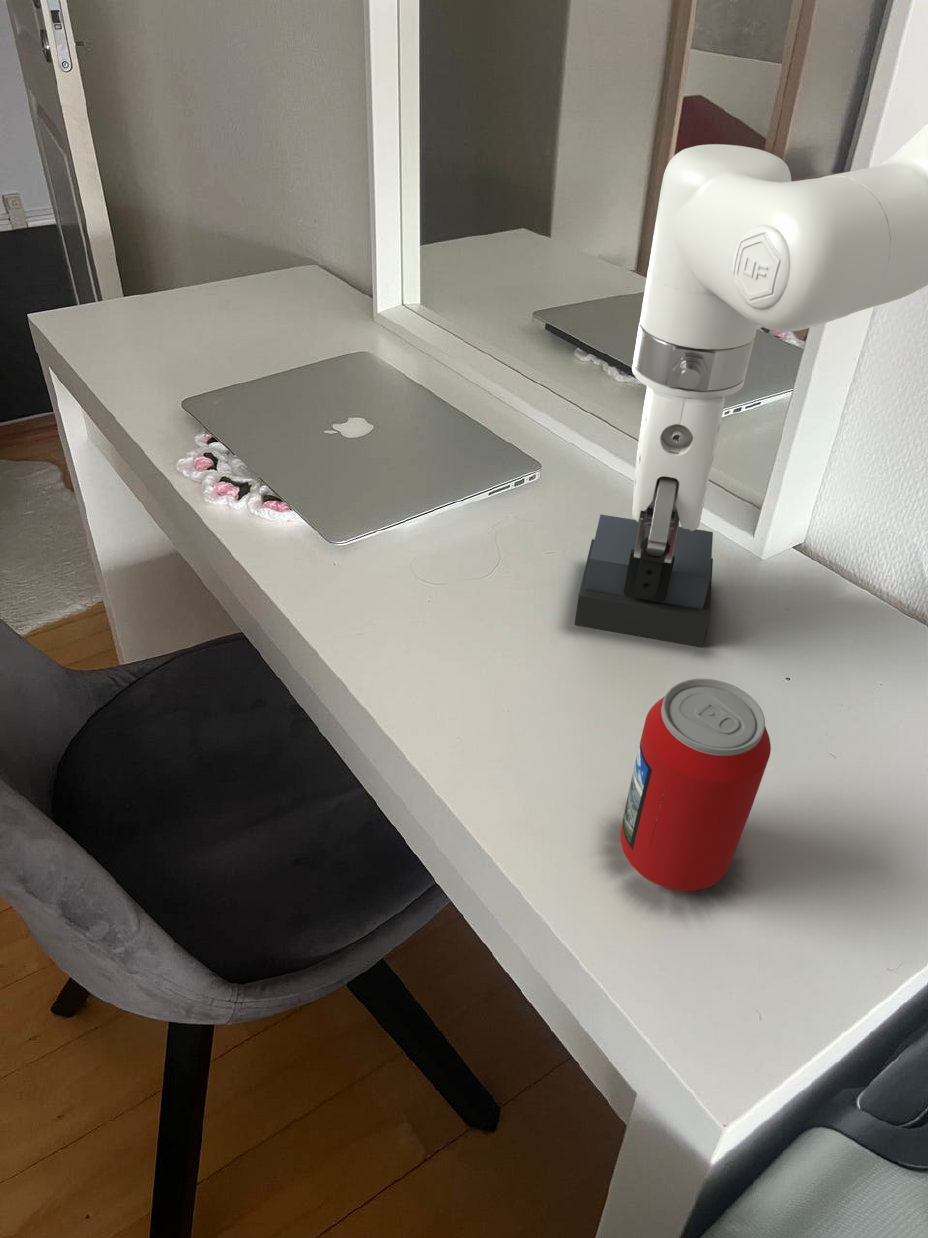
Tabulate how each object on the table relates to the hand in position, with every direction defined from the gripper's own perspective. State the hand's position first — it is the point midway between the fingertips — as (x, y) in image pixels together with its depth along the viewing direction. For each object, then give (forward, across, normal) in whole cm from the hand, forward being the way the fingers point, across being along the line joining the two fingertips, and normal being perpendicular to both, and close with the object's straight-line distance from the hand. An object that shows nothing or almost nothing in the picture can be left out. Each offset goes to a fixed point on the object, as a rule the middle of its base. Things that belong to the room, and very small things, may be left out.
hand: (648, 568), depth 72 cm
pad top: (+1, 0, 0) cm, 1 cm away
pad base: (+4, 0, 0) cm, 4 cm away
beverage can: (+4, -24, -4) cm, 25 cm away
